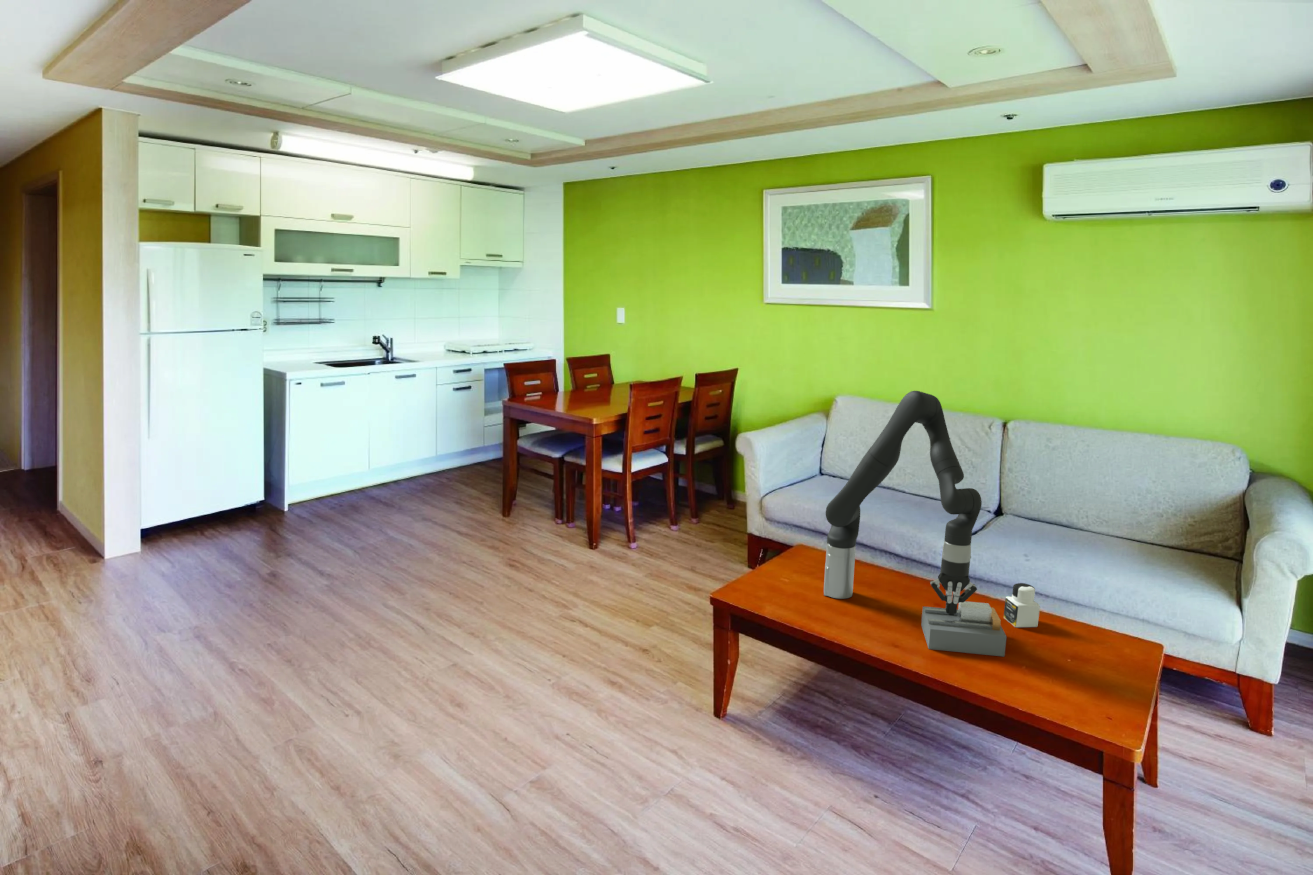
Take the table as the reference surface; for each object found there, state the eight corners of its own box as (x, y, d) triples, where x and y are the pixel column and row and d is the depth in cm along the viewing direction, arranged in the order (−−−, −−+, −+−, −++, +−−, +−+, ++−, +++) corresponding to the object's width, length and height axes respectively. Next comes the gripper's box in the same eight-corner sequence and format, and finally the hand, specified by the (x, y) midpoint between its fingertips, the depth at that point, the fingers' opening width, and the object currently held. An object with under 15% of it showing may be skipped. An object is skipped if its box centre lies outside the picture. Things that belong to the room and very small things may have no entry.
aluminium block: (960, 623, 220) (961, 607, 219) (957, 616, 224) (959, 600, 223) (990, 626, 218) (991, 609, 217) (986, 619, 223) (988, 603, 222)
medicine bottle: (1002, 617, 239) (1006, 581, 236) (1024, 617, 239) (1029, 580, 237) (1015, 627, 232) (1019, 590, 229) (1038, 627, 232) (1042, 589, 230)
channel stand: (928, 648, 217) (931, 618, 215) (921, 624, 233) (923, 596, 231) (1004, 656, 213) (1007, 626, 212) (991, 631, 229) (994, 603, 227)
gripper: (978, 554, 221) (972, 611, 224) (929, 550, 223) (924, 606, 227) (983, 563, 214) (977, 622, 217) (933, 559, 216) (928, 617, 220)
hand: (950, 614), depth 222 cm, fingers closed
